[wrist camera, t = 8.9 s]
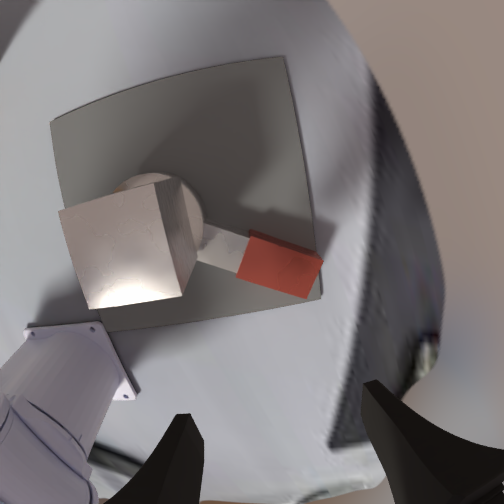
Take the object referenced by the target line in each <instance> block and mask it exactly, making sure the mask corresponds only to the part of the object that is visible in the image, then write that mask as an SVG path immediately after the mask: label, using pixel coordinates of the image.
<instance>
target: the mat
mask: <svg viewBox="0 0 504 504" xmlns="http://www.w3.org/2000/svg"><path fill="white" fill-rule="evenodd" d="M50 128H51V136H52V143H53V150H54V156H55V162H56V168H57V174H58V179H59V184H60V189H61V193H62V198H63V202H64V206H65V209H66V208H69V207H72V206H75V205H78V204H81V203H84V202H87V201H90V200H93V199H96V198H99V197H102V196H105V195H109V194H112V193H113V192H114V190H115V189H116V188H117V187H118V186H119V185H120V184H121V183H123V182H124V181H126V180H127V179H129V178H131V177H134V176H137V175H141V174H146V173H152V172H167V173H172V174H175V175H177V176H180V177H181V178H183V179H185V180H186V181H187V182H189V183H190V184H191V185H192V186H193V187H194V188H195V189H196V191H197V192H198V193H199V195H200V197H201V199H202V201H203V203H204V206H205V210H206V217H207V218H210V219H213V220H216V221H219V222H222V223H224V224H227V225H230V226H233V227H236V228H239V229H242V230H245V231H248V232H249V230H250V229H252V230H255V231H258V232H261V233H264V234H267V235H270V236H273V237H276V238H278V239H281V240H284V241H287V242H290V243H293V244H296V245H298V246H301V247H304V248H307V249H310V250H313V251H315V252H316V246H315V238H314V230H313V222H312V214H311V207H310V200H309V193H308V187H307V180H306V174H305V167H304V161H303V155H302V149H301V144H300V138H299V132H298V127H297V122H296V116H295V111H294V106H293V101H292V96H291V91H290V87H289V82H288V77H287V73H286V68H285V64H284V59H283V57H274V58H266V59H258V60H250V61H244V62H237V63H231V64H226V65H220V66H215V67H210V68H205V69H201V70H196V71H192V72H188V73H183V74H179V75H176V76H172V77H168V78H164V79H161V80H157V81H154V82H151V83H147V84H144V85H141V86H138V87H135V88H132V89H129V90H126V91H123V92H120V93H117V94H114V95H112V96H109V97H106V98H104V99H101V100H99V101H96V102H94V103H91V104H89V105H86V106H84V107H81V108H79V109H77V110H75V111H72V112H70V113H68V114H66V115H64V116H61V117H59V118H57V119H55V120H53V121H51V122H50ZM319 299H321V293H320V283H319V273H318V275H317V277H316V279H315V282H314V284H313V286H312V288H311V290H310V293H309V295H308V297H307V299H303V298H300V297H297V296H293V295H290V294H287V293H284V292H280V291H277V290H274V289H271V288H267V287H264V286H261V285H258V284H255V283H251V282H248V281H245V280H242V279H239V278H236V273H235V272H232V271H229V270H225V269H222V268H219V267H216V266H213V265H210V264H207V263H204V262H201V261H198V260H197V261H196V263H195V266H194V268H193V270H192V273H191V275H190V278H189V280H188V283H187V285H186V288H185V290H184V293H183V295H182V296H179V297H173V298H166V299H160V300H153V301H147V302H140V303H133V304H127V305H120V306H112V307H105V308H98V309H97V311H98V313H99V316H100V318H101V321H102V323H103V325H104V328H105V330H106V332H115V331H124V330H133V329H142V328H150V327H158V326H166V325H174V324H181V323H188V322H195V321H202V320H209V319H215V318H221V317H228V316H234V315H240V314H246V313H251V312H257V311H263V310H268V309H274V308H279V307H284V306H289V305H295V304H300V303H305V302H309V301H314V300H319Z"/></svg>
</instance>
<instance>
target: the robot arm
mask: <svg viewBox="0 0 504 504" xmlns="http://www.w3.org/2000/svg"><path fill="white" fill-rule="evenodd" d="M92 327H93V328H94V329H95V330H94V329H92ZM23 334H24V337H25V339H26V342H25V343H24V344H23V345H22V346H21V347H20V348H19V349H18V350H17V351H16V352H15V353H14V354H13V355H12V356H11V357H10V359H9V360H8V361H7V362H6V363H5V364H4V365H3V366H2V367H1V369H0V504H99V501H98V500H99V499H98V494H97V491H96V488H95V487H94V485H93V484H92V483H91V482H90V481H89V478H90V475H91V472H92V470H93V469H92V468H91V467H90V466H89V465H88V463H87V462H86V461H87V458H88V455H89V453H90V451H91V448H92V446H93V443H94V441H95V438H96V436H97V434H98V431H99V429H100V427H101V424H102V422H103V420H104V417H105V415H106V413H107V410H108V408H109V406H110V404H111V401H112V400H135V399H136V398H137V393H136V391H135V390H134V388H133V386H132V384H131V382H130V380H129V378H128V376H127V374H126V372H125V370H124V368H123V366H122V364H121V362H120V360H119V358H118V356H117V354H116V352H115V349H114V347H113V345H112V343H111V341H110V338H109V336H108V334H107V332H106V330H105V328H104V325H103V324H102V323H101V322H98V321H95V322H86V323H77V324H67V325H57V326H45V327H34V328H25V329H24V330H23ZM127 395H128V396H127ZM361 417H362V420H363V423H364V426H365V429H366V432H367V435H368V437H369V439H370V441H371V443H372V445H373V447H374V450H375V452H376V454H377V456H378V458H379V460H380V462H381V464H382V466H383V469H384V471H385V473H386V476H387V478H388V481H389V485H390V488H391V491H392V494H393V498H394V502H395V504H504V493H503V492H502V491H503V490H504V485H503V484H502V482H503V481H504V450H502V449H497V448H492V447H487V446H483V445H479V444H476V443H473V442H470V441H468V440H465V439H462V438H460V437H457V436H455V435H453V434H451V433H449V432H447V431H445V430H443V429H441V428H439V427H437V426H436V425H434V424H432V423H431V422H429V421H427V420H426V419H425V418H423V417H421V416H420V415H419V414H417V413H416V412H415V411H413V410H412V409H410V408H409V407H408V406H407V405H406V404H404V403H403V402H402V401H401V400H400V399H398V398H397V397H396V396H395V395H394V394H393V393H391V392H390V391H389V390H388V389H387V388H386V387H385V386H384V385H383V384H382V383H380V382H379V381H378V380H377V379H376V380H373V381H370V382H366V383H363V391H362V404H361ZM203 467H204V440H203V438H202V436H201V434H200V432H199V430H198V428H197V426H196V424H195V422H194V420H193V418H192V416H191V414H190V413H188V414H176V415H175V417H174V419H173V420H172V422H171V424H170V425H169V427H168V429H167V430H166V432H165V434H164V435H163V437H162V439H161V440H160V442H159V443H158V445H157V446H156V448H155V449H154V451H153V452H152V454H151V455H150V457H149V458H148V459H147V461H146V462H145V463H144V465H143V466H142V467H141V468H140V470H139V471H138V472H137V473H136V474H135V475H134V477H133V478H132V479H131V480H130V481H129V482H128V483H127V484H126V485H125V486H124V487H123V488H122V489H121V490H120V491H119V492H117V493H116V494H115V495H114V496H113V497H112V498H110V499H109V500H108V501H106V502H105V503H104V504H199V499H200V491H201V483H202V475H203Z"/></svg>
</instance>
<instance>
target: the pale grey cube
mask: <svg viewBox="0 0 504 504" xmlns="http://www.w3.org/2000/svg"><path fill="white" fill-rule="evenodd" d="M58 213H59V217H60V221H61V225H62V229H63V232H64V236H65V239H66V243H67V246H68V249H69V253H70V256H71V259H72V262H73V265H74V268H75V271H76V274H77V277H78V280H79V283H80V286H81V288H82V291H83V294H84V296H85V299H86V302H87V304H88V307H89V309H90V310H91V309H98V308H105V307H112V306H120V305H127V304H133V303H140V302H147V301H153V300H160V299H166V298H173V297H179V296H182V295H183V293H184V290H185V288H186V285H187V283H188V280H189V278H190V275H191V273H192V270H193V268H194V266H195V263H196V261H197V258H198V255H197V251H196V247H195V243H194V239H193V234H192V230H191V226H190V221H189V217H188V212H187V208H186V203H185V199H184V194H183V189H182V184H181V180H180V176H177V177H173V178H169V179H165V180H161V181H157V182H153V183H149V184H145V185H141V186H138V187H134V188H130V189H126V190H123V191H119V192H116V193H112V194H109V195H105V196H102V197H99V198H96V199H93V200H90V201H87V202H84V203H81V204H78V205H75V206H72V207H69V208H66V209H63V210H60V211H58Z"/></svg>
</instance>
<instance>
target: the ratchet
mask: <svg viewBox="0 0 504 504" xmlns="http://www.w3.org/2000/svg"><path fill="white" fill-rule="evenodd" d="M173 177H177V175H175V174H172V173H167V172H152V173H146V174H141V175H137V176H134V177H131V178H129V179H127V180H126V181H124V182H123V183H121V184H120V185H119V186H118V187H117V188H116V189H115V190H114V192H113V193H116V192H119V191H123V190H126V189H130V188H134V187H138V186H141V185H145V184H149V183H153V182H157V181H161V180H165V179H169V178H173ZM180 180H181V184H182V189H183V194H184V199H185V203H186V208H187V212H188V217H189V221H190V226H191V230H192V234H193V239H194V243H195V247H196V251H197V255H198V258H197V260H198V261H201V262H204V263H207V264H210V265H213V266H216V267H219V268H222V269H225V270H229V271H232V272H235V273H236V278H239V279H242V280H245V281H248V282H251V283H255V284H258V285H261V286H264V287H267V288H271V289H274V290H277V291H280V292H284V293H287V294H290V295H293V296H297V297H300V298H303V299H307V297H308V295H309V293H310V290H311V288H312V286H313V284H314V282H315V279H316V277H317V275H318V273H319V270H320V268H321V266H322V264H323V260H322V258H321V257H320V256H319V255H318V253H317V252H315V251H313V250H310V249H307V248H304V247H301V246H298V245H296V244H293V243H290V242H287V241H284V240H281V239H278V238H276V237H273V236H270V235H267V234H264V233H261V232H258V231H255V230H252V229H250V230H249V232H248V231H245V230H242V229H239V228H236V227H233V226H230V225H227V224H224V223H222V222H219V221H216V220H213V219H210V218H207V217H206V210H205V206H204V203H203V201H202V199H201V197H200V195H199V193H198V192H197V191H196V189H195V188H194V187H193V186H192V185H191V184H190V183H189V182H187V181H186V180H185V179H183V178H181V177H180Z"/></svg>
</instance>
